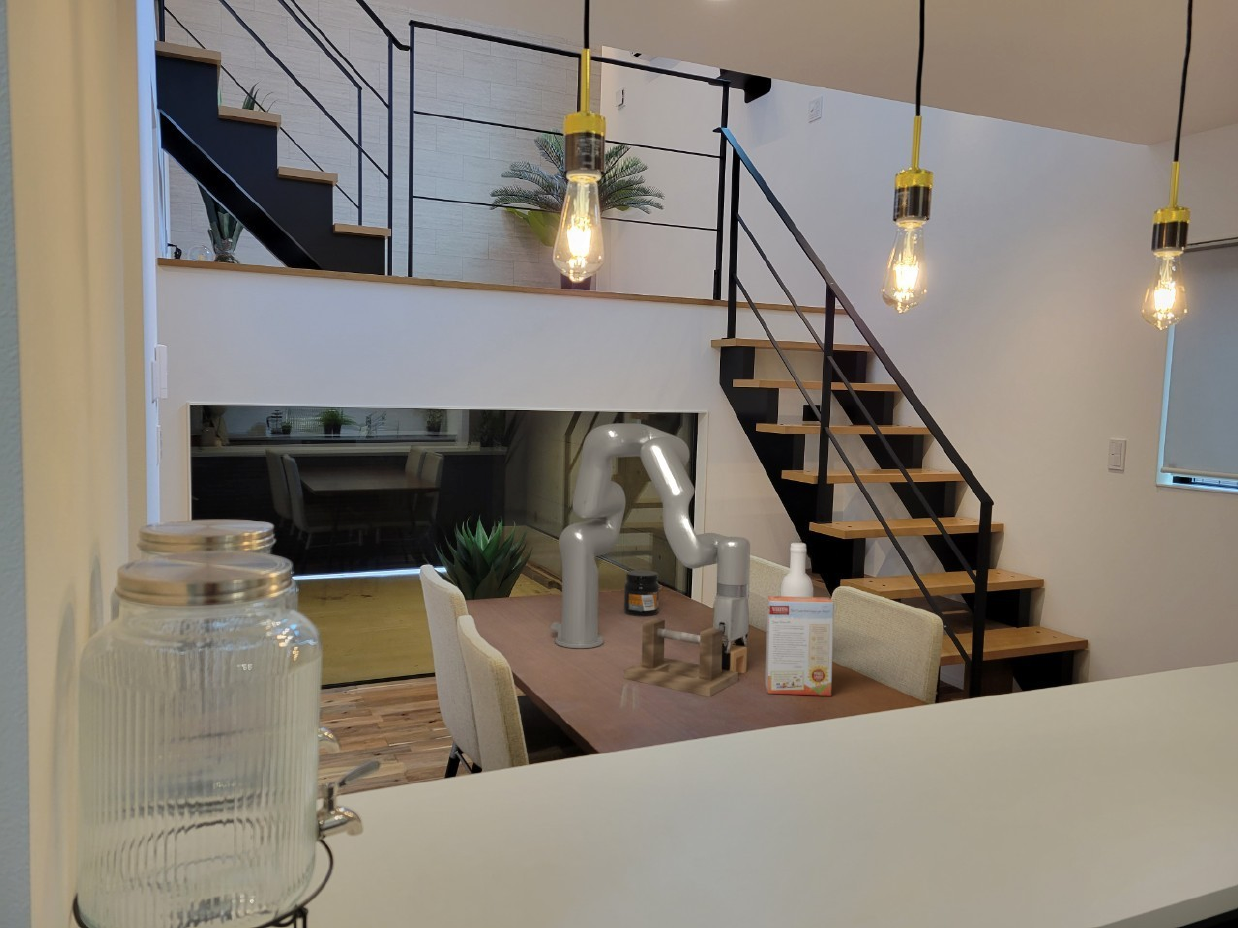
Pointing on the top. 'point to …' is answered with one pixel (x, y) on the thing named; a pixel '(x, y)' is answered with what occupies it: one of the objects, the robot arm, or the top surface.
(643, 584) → the supplement container
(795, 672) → the cracker box
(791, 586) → the bottle
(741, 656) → the notched block
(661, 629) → the tan frame
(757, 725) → the top surface
